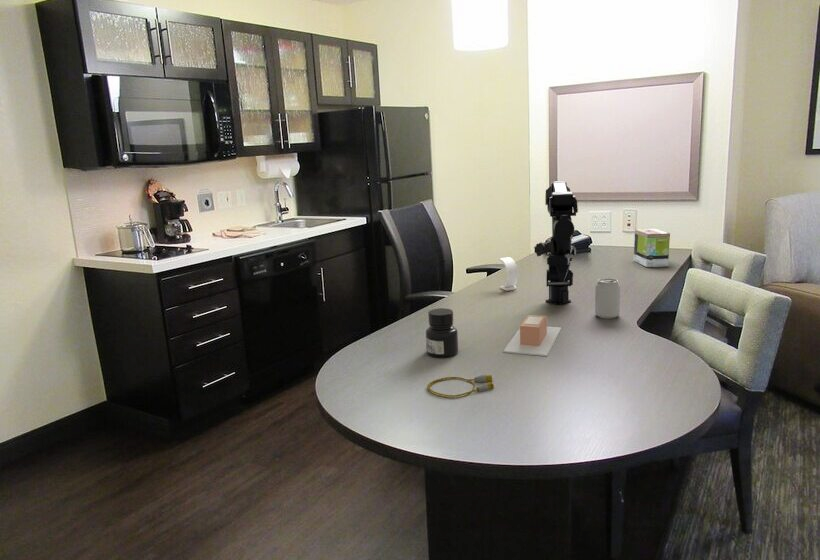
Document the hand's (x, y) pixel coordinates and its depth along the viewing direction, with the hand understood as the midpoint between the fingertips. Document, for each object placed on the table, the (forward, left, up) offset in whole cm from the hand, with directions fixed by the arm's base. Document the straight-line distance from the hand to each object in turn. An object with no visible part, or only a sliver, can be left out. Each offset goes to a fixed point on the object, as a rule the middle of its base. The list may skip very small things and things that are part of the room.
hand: (561, 281), depth 184 cm
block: (+8, -17, -9) cm, 21 cm away
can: (+8, +12, -12) cm, 19 cm away
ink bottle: (+3, -48, -12) cm, 50 cm away
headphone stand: (-40, +11, -12) cm, 43 cm away
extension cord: (+25, -57, -13) cm, 64 cm away
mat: (+11, -21, -12) cm, 27 cm away
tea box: (-33, +85, -12) cm, 92 cm away
